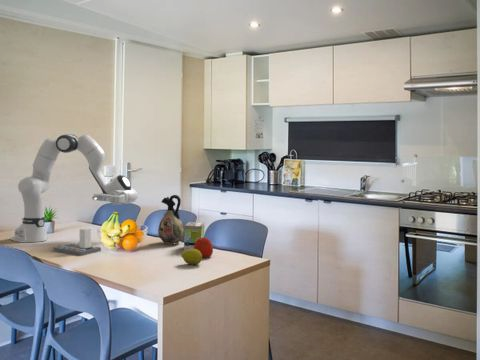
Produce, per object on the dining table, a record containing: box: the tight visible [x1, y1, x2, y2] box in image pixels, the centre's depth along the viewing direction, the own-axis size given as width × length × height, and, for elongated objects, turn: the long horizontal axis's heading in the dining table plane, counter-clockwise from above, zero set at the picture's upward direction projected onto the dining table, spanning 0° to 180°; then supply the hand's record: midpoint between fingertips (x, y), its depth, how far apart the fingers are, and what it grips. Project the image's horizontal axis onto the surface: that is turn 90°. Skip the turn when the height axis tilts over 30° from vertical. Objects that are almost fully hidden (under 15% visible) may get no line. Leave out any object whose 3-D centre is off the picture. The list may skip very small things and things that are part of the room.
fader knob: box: [78, 227, 93, 249], centre depth 246 cm, size 6×5×10 cm
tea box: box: [183, 221, 205, 252], centre depth 261 cm, size 15×10×15 cm, turn 179°
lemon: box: [180, 249, 203, 266], centre depth 223 cm, size 11×8×8 cm
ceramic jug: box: [157, 194, 185, 245], centre depth 275 cm, size 17×15×30 cm
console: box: [52, 242, 102, 257], centre depth 249 cm, size 21×14×3 cm, turn 62°
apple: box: [194, 237, 214, 258], centre depth 241 cm, size 10×10×10 cm
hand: (99, 198), depth 260 cm, fingers open, 8 cm apart
